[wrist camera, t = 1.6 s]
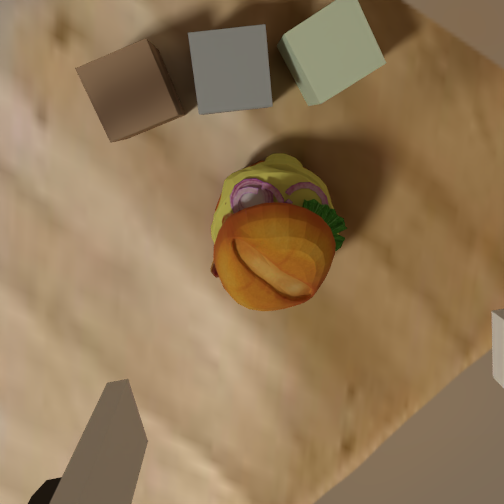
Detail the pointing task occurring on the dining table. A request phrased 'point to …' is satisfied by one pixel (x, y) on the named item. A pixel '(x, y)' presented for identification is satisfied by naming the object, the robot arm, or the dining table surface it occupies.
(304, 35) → the sage block
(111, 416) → the robot arm
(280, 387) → the dining table surface
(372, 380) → the dining table surface
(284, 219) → the cheeseburger
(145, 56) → the walnut block
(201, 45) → the slate block
